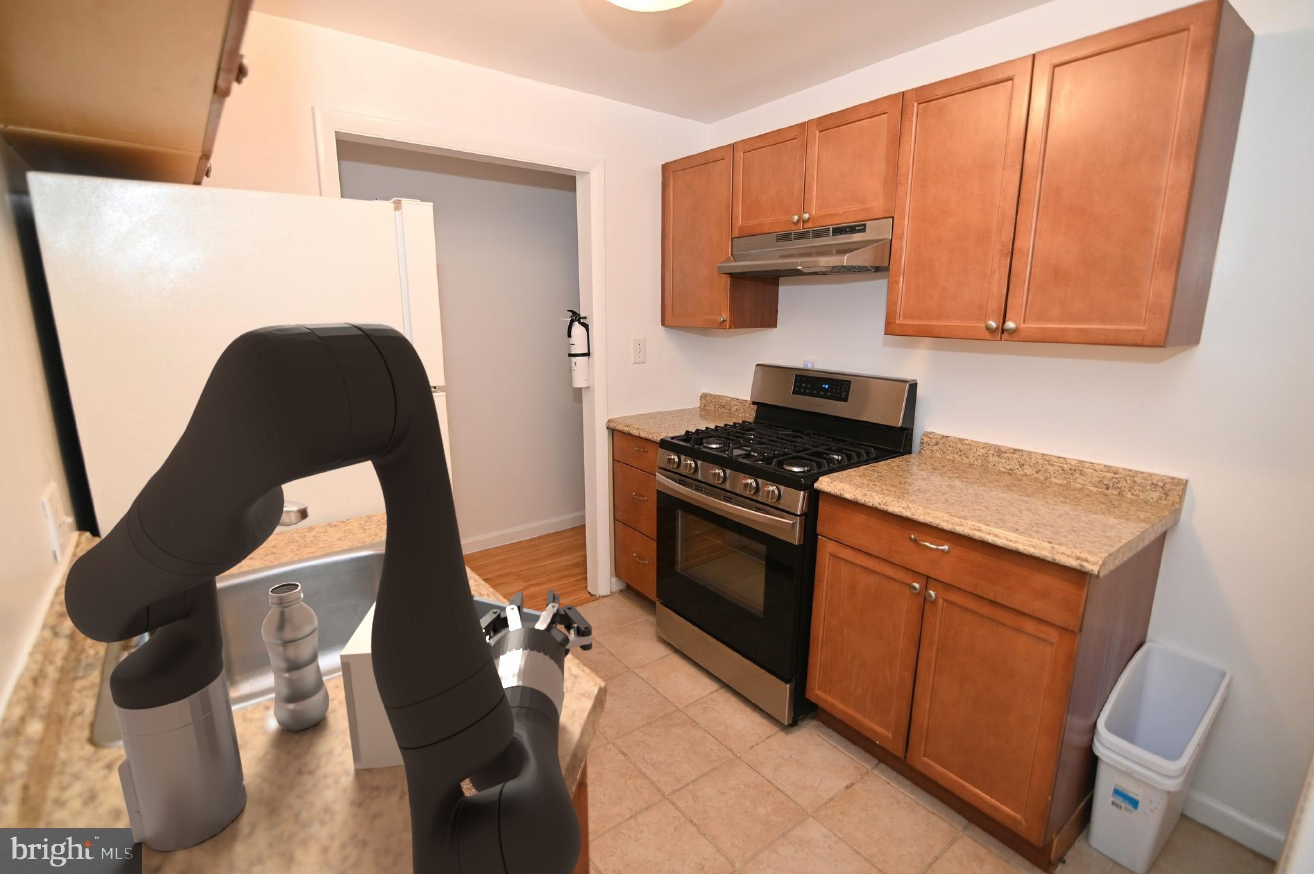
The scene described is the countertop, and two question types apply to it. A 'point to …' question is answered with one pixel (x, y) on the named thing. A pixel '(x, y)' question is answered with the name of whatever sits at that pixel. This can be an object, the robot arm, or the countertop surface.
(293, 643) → the plastic bottle
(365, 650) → the box
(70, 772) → the countertop surface
